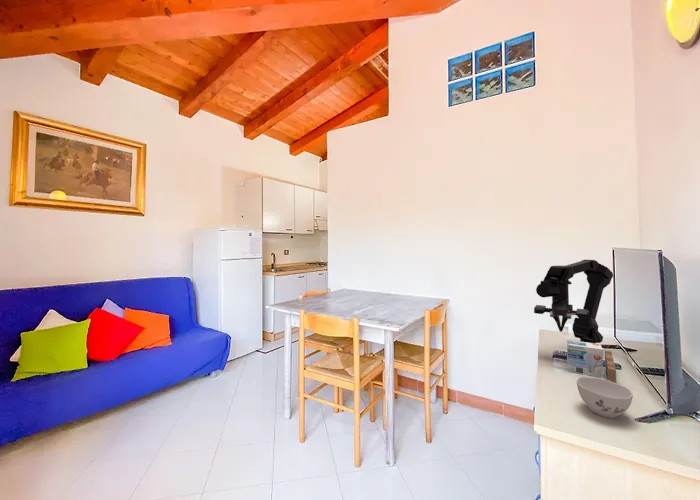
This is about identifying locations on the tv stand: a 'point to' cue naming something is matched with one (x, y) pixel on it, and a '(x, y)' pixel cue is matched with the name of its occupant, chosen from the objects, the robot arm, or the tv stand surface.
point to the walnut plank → (610, 367)
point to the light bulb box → (585, 358)
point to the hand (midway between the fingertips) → (561, 331)
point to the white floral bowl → (604, 396)
